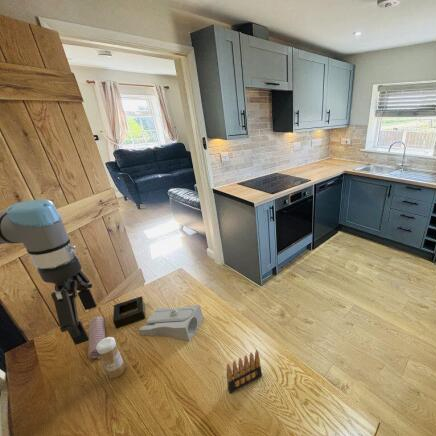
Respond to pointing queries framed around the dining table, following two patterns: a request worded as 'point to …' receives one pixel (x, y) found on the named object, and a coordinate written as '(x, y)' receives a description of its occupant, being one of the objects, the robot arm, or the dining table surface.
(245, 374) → the ammunition clip
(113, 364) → the sprinkles bottle
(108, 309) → the dining table surface
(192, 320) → the wedge sharpener
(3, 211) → the robot arm
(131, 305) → the bottle holder
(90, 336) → the coil
